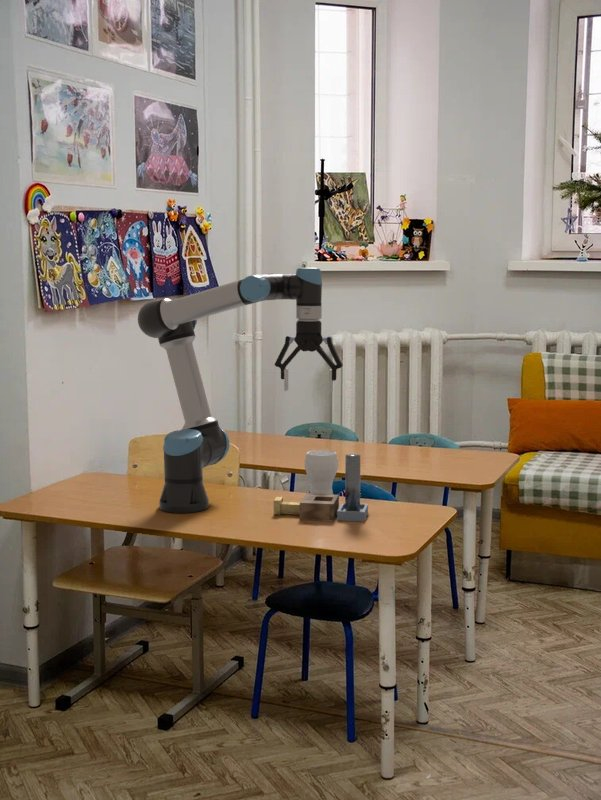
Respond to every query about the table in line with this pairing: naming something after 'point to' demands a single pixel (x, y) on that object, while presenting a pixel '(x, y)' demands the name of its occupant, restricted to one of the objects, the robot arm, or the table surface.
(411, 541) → the table surface
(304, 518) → the socket block
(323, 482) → the cup
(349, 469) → the grey metal bar
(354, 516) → the grey open tray
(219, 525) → the table surface
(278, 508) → the bar
